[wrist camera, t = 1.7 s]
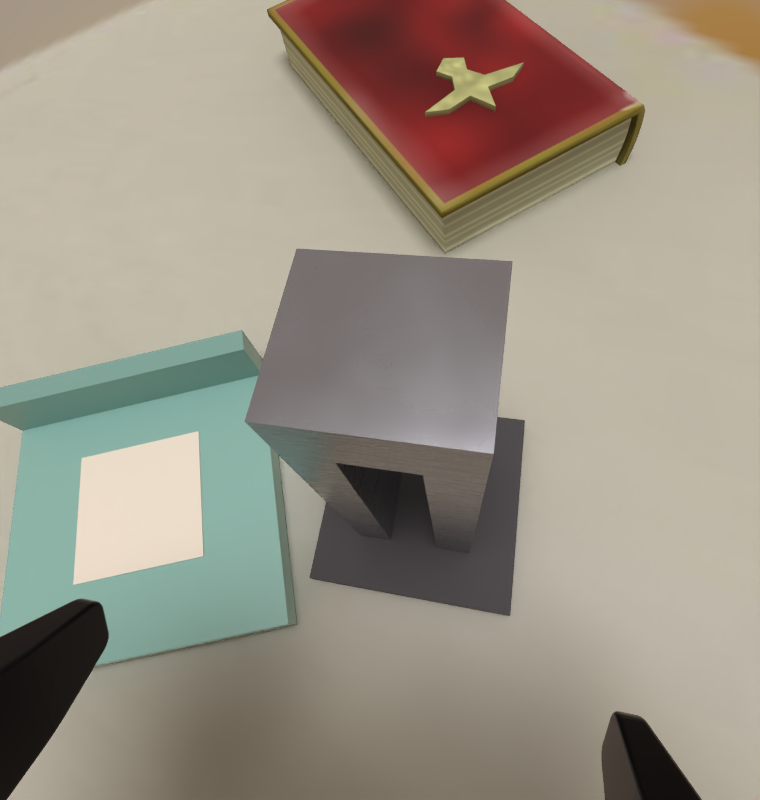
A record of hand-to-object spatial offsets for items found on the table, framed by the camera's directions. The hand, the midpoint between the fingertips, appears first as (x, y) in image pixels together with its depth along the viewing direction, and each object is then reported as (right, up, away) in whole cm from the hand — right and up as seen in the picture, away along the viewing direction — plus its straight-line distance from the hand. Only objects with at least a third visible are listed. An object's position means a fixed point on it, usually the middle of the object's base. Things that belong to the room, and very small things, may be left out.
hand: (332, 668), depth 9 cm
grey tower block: (+3, 0, +13) cm, 13 cm away
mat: (+3, 0, +13) cm, 13 cm away
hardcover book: (+4, +23, +24) cm, 33 cm away
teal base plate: (-10, -1, +14) cm, 17 cm away
